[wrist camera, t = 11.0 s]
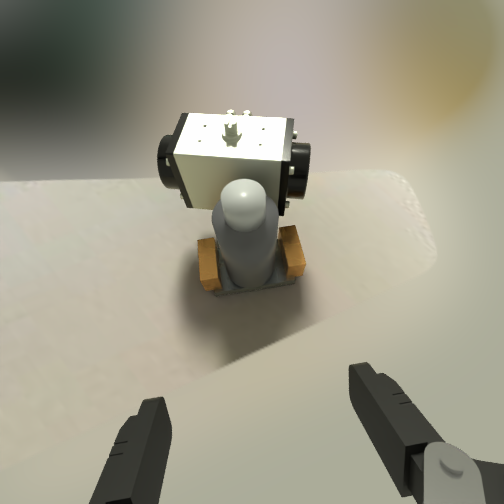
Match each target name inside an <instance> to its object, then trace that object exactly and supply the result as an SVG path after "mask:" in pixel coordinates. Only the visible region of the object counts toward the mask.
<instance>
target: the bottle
mask: <svg viewBox="0 0 504 504" xmlns="http://www.w3.org/2000/svg"><path fill="white" fill-rule="evenodd" d="M278 218H279V213H278V209H277V206H276V204H275V203H274V201H273V200H272V199H271V198H270V197H269V196H267V195H266V194H265V190H264V188H263V187H262V186H261V185H260V184H259V183H258V182H256V181H254V180H250V179H238V180H235V181H232V182H230V183H229V184H227V185H226V186H225V187H224V189H223V190H222V192H221V199H220V200H219V201H218V202H217V204H216V205H215V207H214V209H213V212H212V224H213V227H214V230H215V234H216V237H217V241H218V244H219V247H220V251H221V254H222V257H223V261H224V264H225V267H226V271H227V274H228V276H229V278H230V279H231V280H232V281H233V282H234V283H235V284H236V285H238V286H240V287H244V288H256V287H259V286H261V285H263V284H265V283H266V282H267V281H268V280H269V279H270V278H271V276H272V274H273V272H274V265H275V253H276V242H277V230H278Z"/></svg>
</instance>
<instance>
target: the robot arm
mask: <svg viewBox="0 0 504 504" xmlns="http://www.w3.org/2000/svg"><path fill="white" fill-rule="evenodd" d="M349 395H350V400H351V403H352V406H353V408H354V410H355V412H356V414H357V415H358V417H359V419H360V421H361V423H362V424H363V426H364V428H365V430H366V432H367V434H368V436H369V438H370V439H371V441H372V443H373V445H374V447H375V449H376V450H377V452H378V454H379V456H380V458H381V460H382V462H383V463H384V465H385V467H386V469H387V471H388V472H389V474H390V476H391V478H392V480H393V482H394V484H395V486H396V487H397V489H398V491H399V493H400V495H401V497H407V496H412V495H413V497H414V499H415V500H416V502H417V504H504V464H498V463H492V462H485V461H479V460H475V459H472V458H470V457H469V456H468V455H467V454H466V453H465V452H463V451H462V450H461V449H459V448H457V447H455V446H453V445H451V444H448V443H445V441H444V440H443V439H442V438H441V437H440V435H439V434H438V433H437V432H436V430H435V429H434V428H433V427H432V426H431V424H430V423H429V422H428V421H427V420H426V418H425V417H424V416H423V414H422V413H421V412H420V411H419V410H418V408H417V407H416V406H415V405H414V404H413V403H412V401H411V400H410V399H409V397H408V396H407V395H406V394H405V393H404V391H403V390H402V389H401V387H400V386H399V385H398V384H397V383H396V381H394V380H393V379H391V378H390V377H389V376H387V375H386V374H384V373H379V374H376V372H375V371H374V370H373V368H372V367H371V366H370V365H369V364H368V363H367V362H364V363H358V364H353V365H350V366H349ZM171 439H172V425H171V421H170V418H169V414H168V411H167V407H166V403H165V400H164V398H163V397H156V398H151V399H145V400H143V402H142V404H141V406H140V409H139V412H138V415H136V416H130V417H129V418H128V420H127V421H126V422H125V423H124V425H123V426H122V427H121V429H120V430H119V433H118V435H117V438H116V440H115V442H114V446H113V447H112V449H111V452H110V454H109V458H108V459H107V461H106V464H105V466H104V469H103V471H102V474H101V476H100V478H99V481H98V484H97V486H96V488H95V490H94V493H93V495H92V498H91V500H90V502H89V504H158V503H159V498H160V493H161V488H162V483H163V479H164V474H165V469H166V464H167V459H168V455H169V449H170V445H171Z"/></svg>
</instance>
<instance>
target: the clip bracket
mask: <svg viewBox="0 0 504 504" xmlns="http://www.w3.org/2000/svg"><path fill="white" fill-rule="evenodd" d="M197 241H198V256H199V272H200V281H201V283H202V285H203V287H204V289H205V290H206V291H209V290H214V293H215V295H216V296H222V295H228V294H234V293H240V292H246V291H253V290H259V289H265V288H271V287H277V286H283V285H290V284H294V282H295V277H296V276H302V275H303V272H304V269H305V266H306V261H305V258H304V254H303V251H302V247H301V244H300V240H299V237H298V233H297V230H296V226H295V225H292V226H286V227H279V233H278V239H277V242H276V253H275V265H274V272H273V274H272V276H271V278H270V279H269V280H268V281H267V282H266V283H265V284H263V285H261V286H259V287H256V288H244V287H240V286H238V285H236V284H235V283H234V282H233V281H232V280H231V279H230V278H229V276H228V274H227V271H226V267H225V264H224V261H223V257H222V254H221V251H220V248H217V246H216V242H215V239H214V238H207V239H201V240H197Z"/></svg>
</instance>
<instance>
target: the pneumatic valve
mask: <svg viewBox="0 0 504 504" xmlns="http://www.w3.org/2000/svg"><path fill="white" fill-rule="evenodd" d="M293 125H294V119H291V118H270V117H252V114H251V112H250V111H245V112H244V113H243V115H242V116H236V114H235V112H234V111H233V110H228V111H227V113H226V115H212V114H192V113H182V114H181V117H180V119H179V121H178V124H177V126H176V129H175V131H174V133H173V135H166V136H164V137H163V138H162V140H161V141H160V145H159V148H158V154H157V163H158V171H159V176H160V179H161V181H162V183H163V184H164V186H165V187H167V188H169V189H180V192H181V194H180V198H181V199H184V201H185V204H186V206H187V208H197V209H208V210H213V209H214V207H215V205H216V204H217V202H218V201H219V200H220V199H221V192H222V190H223V189H224V187H225V186H226V185H227V184H229V183H230V182H232V181H235V180H238V179H250V180H254V181H256V182H258V183H259V184H260V185H261V186H262V187H263V188H264V190H265V194H266V195H267V196H269V197H270V198H271V199H272V200H273V201H274V203H275V204H276V206H277V209H278V213H279V216H284V211H285V208H289V203H290V202H289V201H286V198H292V199H303V198H304V196H305V192H306V186H307V180H308V172H309V164H310V150H311V146H310V144H309V143H295V142H292V139H296V138H297V131H293Z"/></svg>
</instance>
